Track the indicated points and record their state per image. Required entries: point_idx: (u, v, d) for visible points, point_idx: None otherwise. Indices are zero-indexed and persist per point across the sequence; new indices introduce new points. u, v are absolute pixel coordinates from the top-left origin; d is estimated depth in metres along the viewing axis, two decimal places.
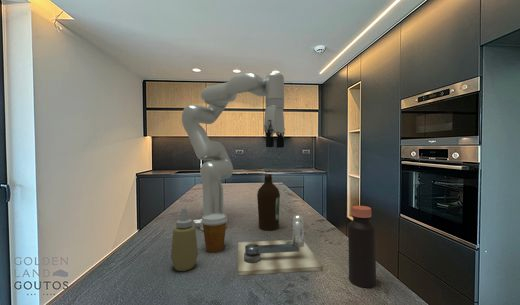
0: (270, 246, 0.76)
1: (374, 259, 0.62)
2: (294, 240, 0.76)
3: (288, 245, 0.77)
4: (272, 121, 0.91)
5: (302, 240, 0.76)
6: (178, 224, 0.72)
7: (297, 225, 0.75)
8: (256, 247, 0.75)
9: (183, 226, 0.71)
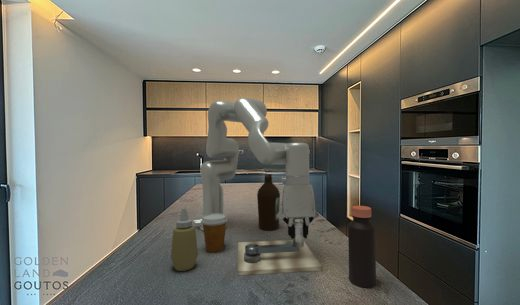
0: (270, 246, 0.76)
1: (374, 259, 0.62)
2: (294, 240, 0.76)
3: (288, 245, 0.77)
4: None
5: (302, 240, 0.76)
6: (178, 224, 0.72)
7: (297, 225, 0.75)
8: (256, 247, 0.75)
9: (183, 226, 0.71)
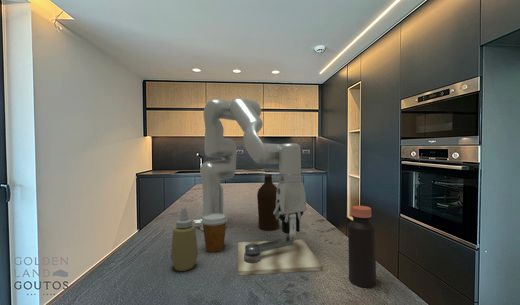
0: (268, 243, 0.78)
1: (374, 259, 0.62)
2: (289, 235, 0.81)
3: (283, 240, 0.81)
4: None
5: (295, 234, 0.82)
6: (178, 224, 0.72)
7: (292, 220, 0.81)
8: (257, 246, 0.75)
9: (183, 226, 0.71)
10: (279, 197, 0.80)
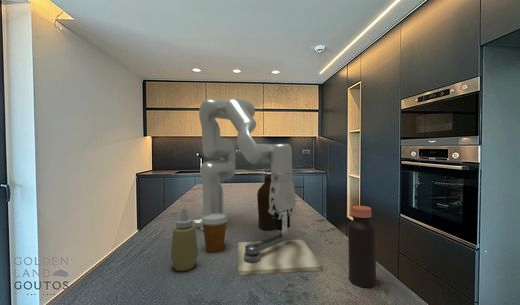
0: (265, 242, 0.80)
1: (374, 259, 0.62)
2: (281, 231, 0.84)
3: (276, 237, 0.84)
4: None
5: None
6: (178, 224, 0.72)
7: (284, 217, 0.84)
8: (257, 246, 0.76)
9: (183, 226, 0.71)
10: (274, 196, 0.82)
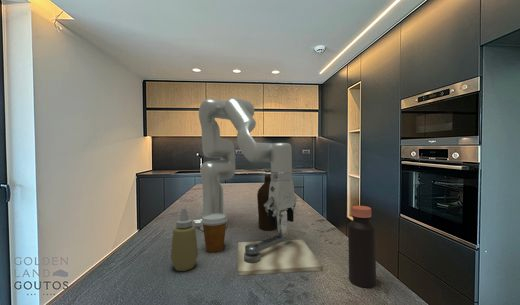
0: (265, 242, 0.80)
1: (374, 259, 0.62)
2: (281, 231, 0.84)
3: (276, 237, 0.84)
4: None
5: None
6: (178, 224, 0.72)
7: (284, 217, 0.85)
8: (257, 246, 0.76)
9: (183, 226, 0.71)
10: (273, 194, 0.82)
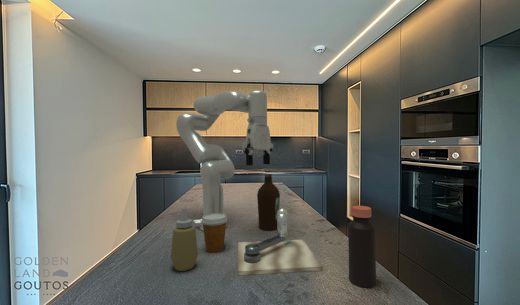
0: (265, 242, 0.80)
1: (374, 259, 0.62)
2: (281, 231, 0.84)
3: (276, 237, 0.84)
4: None
5: None
6: (178, 224, 0.72)
7: (284, 217, 0.85)
8: (257, 246, 0.76)
9: (183, 226, 0.71)
10: (250, 136, 0.92)
